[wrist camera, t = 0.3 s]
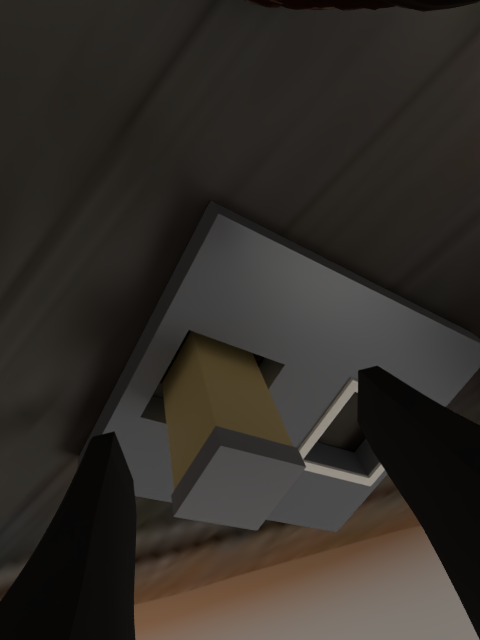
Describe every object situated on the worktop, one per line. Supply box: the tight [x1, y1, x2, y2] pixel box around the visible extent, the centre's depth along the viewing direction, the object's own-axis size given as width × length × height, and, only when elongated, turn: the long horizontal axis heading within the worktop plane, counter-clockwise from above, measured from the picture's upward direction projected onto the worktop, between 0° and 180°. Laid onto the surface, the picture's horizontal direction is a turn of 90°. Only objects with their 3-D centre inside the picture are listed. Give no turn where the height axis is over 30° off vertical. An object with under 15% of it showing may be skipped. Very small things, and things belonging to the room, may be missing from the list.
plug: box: [162, 331, 306, 530], centre depth 20 cm, size 4×4×8 cm
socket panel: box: [77, 200, 480, 532], centre depth 25 cm, size 18×16×2 cm
